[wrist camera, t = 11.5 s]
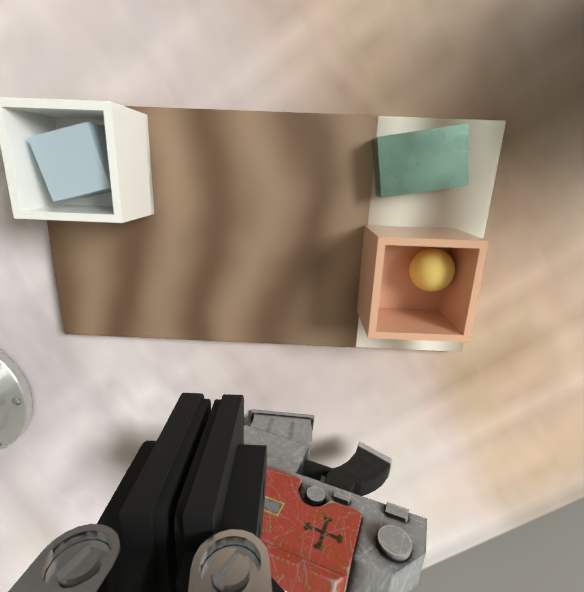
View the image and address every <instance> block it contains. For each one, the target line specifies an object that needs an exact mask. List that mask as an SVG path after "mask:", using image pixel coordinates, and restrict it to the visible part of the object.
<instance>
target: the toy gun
mask: <svg viewBox="0 0 584 592" xmlns="http://www.w3.org/2000/svg"><path fill="white" fill-rule="evenodd" d="M313 422H314V415H304V414H293V413H283V412H272V411H261V410H252V411H251V424H250V426H248V425H244V445H267V470H266V490H265V503H264V513H263V523H262V534H261V541H262V542H263V544H264V545H265V547H266V548H267V552H268V556H269V560H270V571H271V577H272V578H273V579H274V580H275V581H276V582H277V583H278V585H279V586H280V587H281V588H282V589H283V590H285V591H287V592H409V591H410V590H411V589H413V588H414V587H416V586H417V583H418V579H419V576H420V572H421V568H422V565H423V561H424V557H425V554H426V531H427V519H425V518H423V517H420V516H417V515H414V514H411V513H409V509H406V508H403V507H400V506H397V505H394V504H391V503H388V502H387V504H386V505H385V504H383V503H380V502H377V501H374V500H371V499H368V498H365V497H363V496H364V495H367V494H369V493H371V492H373V491H375V490H376V489H378V488H379V487H380V486H382V485H383V483H384V482H385V480H386V479H387V478H388V476H389V474H390V469H391V464H392V459H391V458H389V457H387V456H386V455H384V454H382V453H380V452H378V451H376V450H374V449H373V448H371V447H369V446H367V445H365V444H363V443H361V442H359V444H358V447H357V450H356V453H355V454H354V455H353V456H352V458H351V459H350V460H349V461H348V462H346V463H344V464H343V465H341V466H339V467H336V468H330V467H327V466H324V465H321V464H318V463H315V462H312V461H309V456H310V449H311V441H312V430H313ZM305 476H306V477H305ZM308 477H309V478H308ZM311 478H312V479H311ZM314 479H315V480H314ZM317 480H318V481H317Z"/></svg>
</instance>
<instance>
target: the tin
mask: <svg viewBox="0 0 584 592" xmlns="http://www.w3.org/2000/svg"><path fill="white" fill-rule="evenodd" d="M468 131H469V123H467V124H461V125H454V126H447V127H440V128H434V129H427V130H420V131H413V132H407V133H400V134H393V135H386V136H380V137H376V138H374V139H372V146H373V160H374V175H375V190H376V196H377V197H381V198H383V197H390V196H398V195H405V194H412V193H419V192H426V191H434V190H441V189H448V188H455V187H462V186H468Z"/></svg>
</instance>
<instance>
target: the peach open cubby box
mask: <svg viewBox="0 0 584 592" xmlns="http://www.w3.org/2000/svg"><path fill="white" fill-rule="evenodd" d="M488 245H489V241H488V240H485V239H482V238H480V237H477V236H474V235H471V234H469V233H466V232H463V231H460V230H458V229H450V228H423V227H396V226H370V225H364V236H363V246H362V257H361V268H360V279H359V290H358V301H357V313H358V315H359V318H360V320H361V323H362V325H363V328H364V330H365V332H366V335H367V337H368V338H375V339H400V340H426V341H451V342H470V338H471V333H472V328H473V322H474V317H475V312H476V307H477V302H478V297H479V292H480V286H481V281H482V276H483V271H484V266H485V261H486V256H487V251H488ZM428 248H437V249H441V250H443V251H445V252H447V253H448V254H449V255H450V256H451V257H452V259H453V261H454V263H455V275H454V278H453V280H452V281H451V283H450V284H449V285H448V286H447V287H445V288H443V289H441V290H439V291H425V290H422V289H420V288H419V287H417V286H416V285H415V284H414V283H413V281H412V280H411V277H410V274H409V267H410V263H411V261H412V259H413V258H414V256H415V255H416V254H417V253H419V252H420V251H422V250H425V249H428Z"/></svg>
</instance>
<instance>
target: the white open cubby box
mask: <svg viewBox="0 0 584 592" xmlns="http://www.w3.org/2000/svg"><path fill="white" fill-rule="evenodd" d="M84 122H90V123H94V124H98V125H103V126H105V132H106V142H107V152H108V161H109V171H110V181H111V190H112V192H108V193H104V194H100V195H95V196H91V197H87V198H80V199H72V200H64V201H55V202H53V200H52V197H51V195H50V192H49V190H48V187H47V185H46V182H45V180H44V177H43V175H42V172H41V170H40V168H39V165H38V163H37V160H36V158H35V155H34V153H33V150H32V148H31V145H30V143H29V140H28V138H27V137H31V136H35V135H39V134H43V133H46V132H50V131H54V130H58V129H61V128H65V127H69V126H73V125H77V124H80V123H84ZM0 146H1V151H2V156H3V162H4V167H5V173H6V178H7V184H8V189H9V195H10V200H11V206H12V211H13V216H14V218H15V219H39V220H63V221H87V222H111V223H124V222H128V221H131V220H135V219H138V218H142V217H145V216H149V215H152V214H154V203H153V189H152V175H151V161H150V147H149V133H148V119H147V114H144V113H141V112H138V111H136V110H133V109H130V108H128V107H125V106H122V105H119V104H117V103H114V102H111V101H89V100H63V99H36V98H10V97H0Z"/></svg>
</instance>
